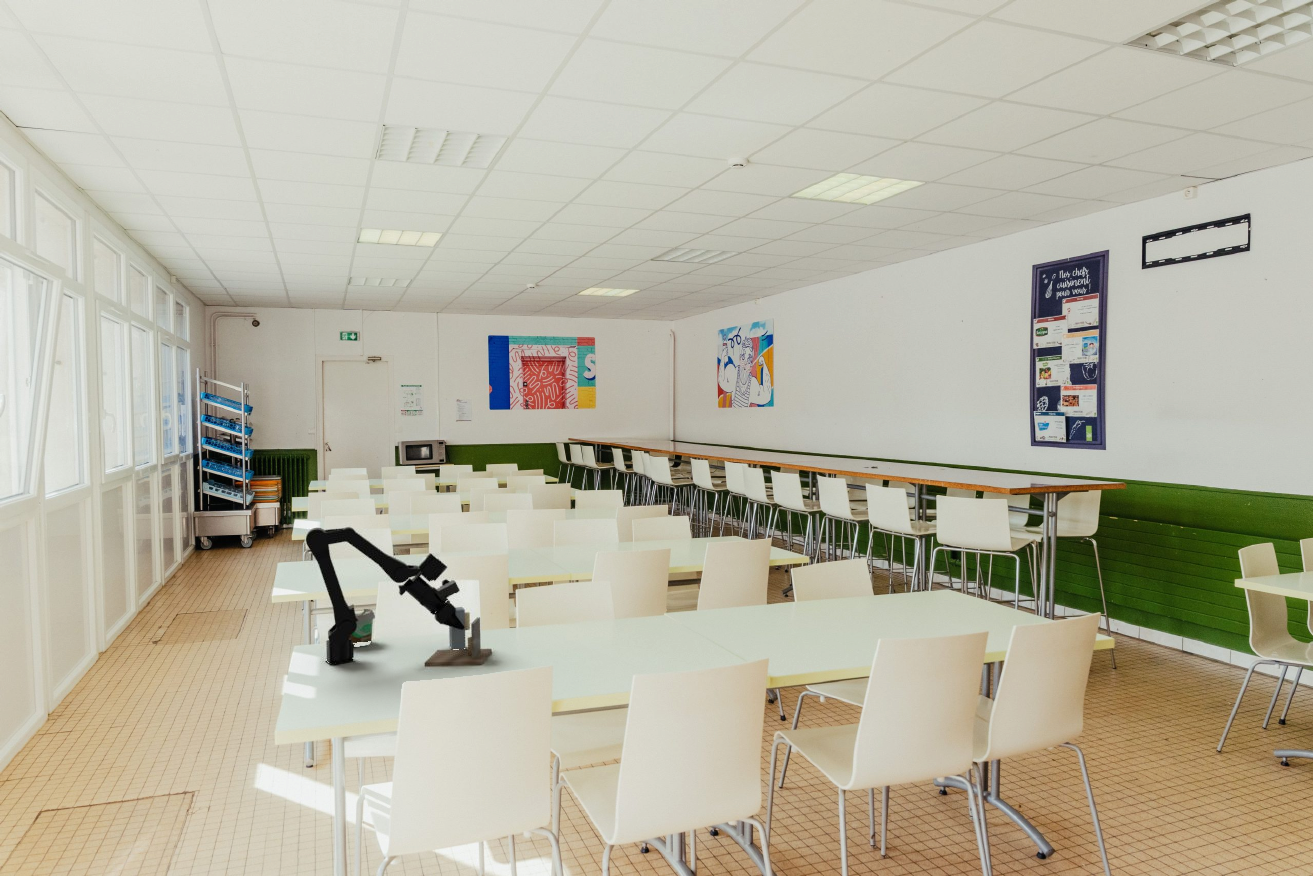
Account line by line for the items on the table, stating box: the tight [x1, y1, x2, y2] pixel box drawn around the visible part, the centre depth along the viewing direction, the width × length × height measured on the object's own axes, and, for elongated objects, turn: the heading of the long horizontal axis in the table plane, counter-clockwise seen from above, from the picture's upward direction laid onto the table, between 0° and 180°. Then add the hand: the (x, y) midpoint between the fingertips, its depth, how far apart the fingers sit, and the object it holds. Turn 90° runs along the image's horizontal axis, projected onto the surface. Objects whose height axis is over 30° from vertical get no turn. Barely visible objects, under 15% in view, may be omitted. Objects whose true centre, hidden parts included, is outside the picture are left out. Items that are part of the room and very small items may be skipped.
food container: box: [349, 608, 376, 645], centre depth 256 cm, size 12×6×10 cm, turn 168°
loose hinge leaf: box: [448, 606, 471, 650], centre depth 249 cm, size 6×5×12 cm
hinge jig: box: [424, 617, 492, 667], centre depth 237 cm, size 16×14×11 cm
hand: (461, 626), depth 250 cm, fingers open, 8 cm apart
